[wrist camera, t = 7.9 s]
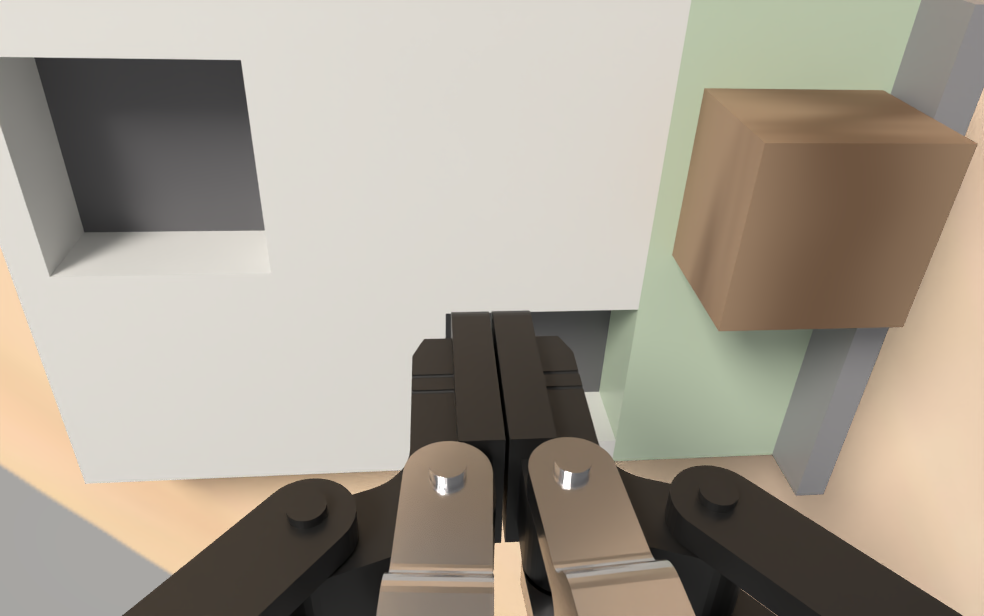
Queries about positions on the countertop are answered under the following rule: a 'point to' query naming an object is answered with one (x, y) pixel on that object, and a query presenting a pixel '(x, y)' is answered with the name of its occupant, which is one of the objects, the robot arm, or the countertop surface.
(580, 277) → the box
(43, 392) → the countertop surface
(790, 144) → the walnut block
